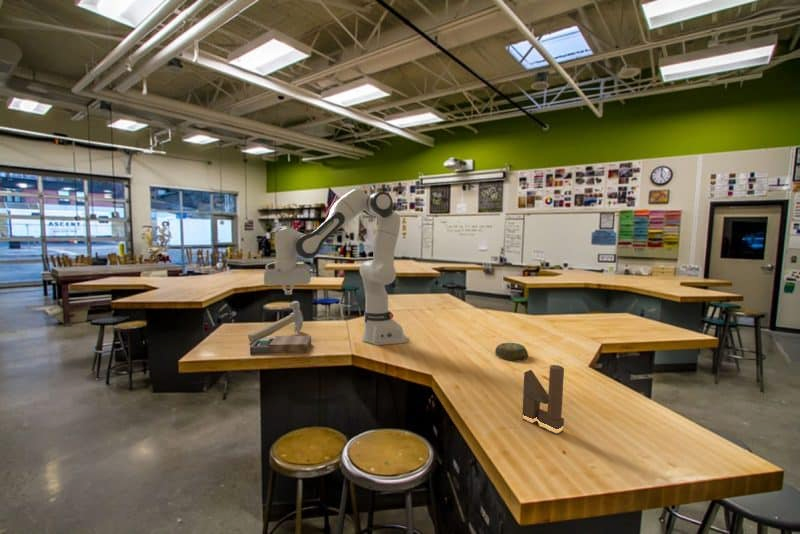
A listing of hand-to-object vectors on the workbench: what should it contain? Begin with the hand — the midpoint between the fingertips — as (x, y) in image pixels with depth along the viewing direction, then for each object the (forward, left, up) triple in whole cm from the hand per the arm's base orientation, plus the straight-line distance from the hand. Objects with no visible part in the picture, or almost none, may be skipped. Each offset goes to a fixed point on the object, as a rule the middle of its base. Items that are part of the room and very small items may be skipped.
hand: (288, 294), depth 169 cm
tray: (+11, +3, -24) cm, 27 cm away
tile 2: (+10, +3, -22) cm, 24 cm away
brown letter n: (-85, +74, -25) cm, 116 cm away
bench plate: (-1, +3, -24) cm, 25 cm away
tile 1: (+11, +3, -22) cm, 25 cm away
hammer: (+9, -16, -25) cm, 31 cm away
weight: (-98, +17, -25) cm, 103 cm away
